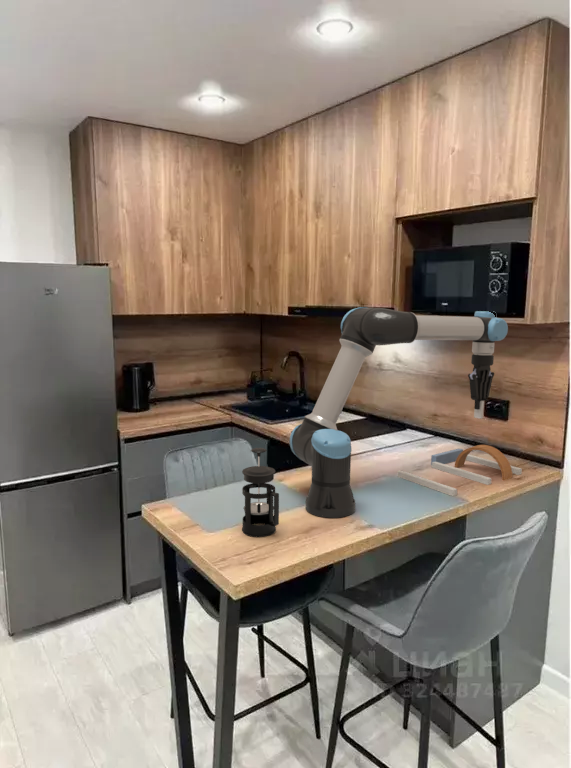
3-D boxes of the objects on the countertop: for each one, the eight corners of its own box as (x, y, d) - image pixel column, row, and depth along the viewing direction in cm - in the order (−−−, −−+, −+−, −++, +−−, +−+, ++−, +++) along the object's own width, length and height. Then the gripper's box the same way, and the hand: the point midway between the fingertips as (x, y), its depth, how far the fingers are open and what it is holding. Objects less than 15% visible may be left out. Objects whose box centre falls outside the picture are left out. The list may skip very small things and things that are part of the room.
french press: (232, 530, 145) (232, 449, 142) (255, 519, 152) (255, 442, 149) (265, 542, 138) (265, 457, 134) (287, 530, 145) (288, 449, 142)
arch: (462, 464, 206) (464, 439, 204) (512, 477, 191) (514, 450, 189) (454, 467, 202) (455, 442, 201) (504, 481, 187) (506, 453, 186)
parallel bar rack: (453, 496, 172) (453, 484, 171) (393, 475, 192) (393, 464, 192) (521, 473, 195) (522, 463, 194) (461, 457, 216) (462, 447, 215)
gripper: (481, 355, 185) (476, 421, 188) (502, 354, 192) (497, 417, 196) (462, 353, 191) (458, 417, 194) (484, 352, 198) (480, 414, 202)
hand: (478, 417), depth 195 cm, fingers closed
